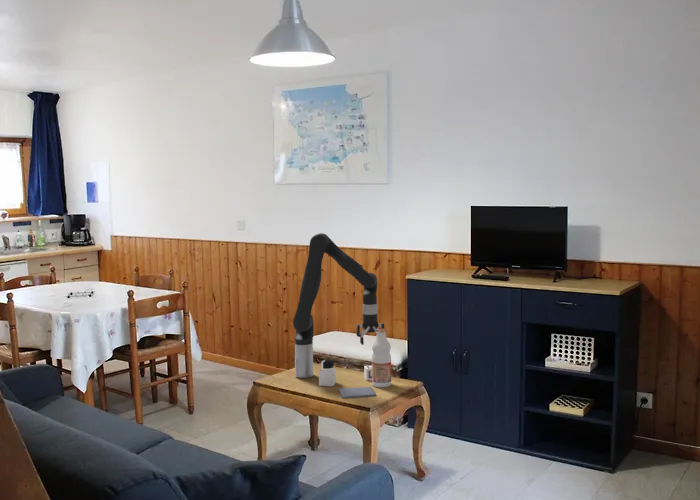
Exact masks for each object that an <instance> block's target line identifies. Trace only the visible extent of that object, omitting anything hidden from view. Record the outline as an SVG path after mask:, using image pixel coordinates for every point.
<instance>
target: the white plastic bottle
mask: <svg viewBox="0 0 700 500" xmlns="http://www.w3.org/2000/svg"><path fill="white" fill-rule="evenodd" d="M375 333H376V335H375V339H374V341H373V342H372V345H371V349H372V354H371V355H372V356H371V365H372V380H371V382H372V386H373V387H375V388H380V389H381V388H388V387H389V388H390V386H391V385H392V355H391V343H390V342H389V341H388V338H387V335H386V333H387V329H386V328H385V327H384V328H379V327H378V328H377V329H376V332H375Z"/></svg>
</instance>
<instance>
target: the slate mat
mask: <svg viewBox="0 0 700 500" xmlns="http://www.w3.org/2000/svg"><path fill="white" fill-rule="evenodd" d="M338 392H339V393H340V396H341V398H342V399H350V398H353V399H354V398H365V397H366V398H367V397H377V393H376V392H375V390H374V388H373V387H372V386H362V387H361V386H359V387H347V388H346V387H345V388H338Z"/></svg>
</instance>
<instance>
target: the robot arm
mask: <svg viewBox="0 0 700 500" xmlns="http://www.w3.org/2000/svg"><path fill="white" fill-rule="evenodd" d="M325 254H326V255H328V256H329V257H331V258H332V259H333V260H334V261H335V262H336V263H337V264H338V265H339V266H340V267H341V268H342V269H343V270H344V271H346V272H347V273H348V274H349V275H351V276H352V277H353V278H354V279H355V280H356V281H357V282H358V283H359V284H360V285H361V286H363V293H362V294H363V295H362V324H358V323H357V324H356V331H355V333H356V337H358V338H360V339H359V342H360V344H361V346H362V345H364V344H365V343H364V342H365V341H364V339H365V338H364V336H365V335H366V334H370V333H376V329H379V327H380V328H384V329H385V324H384V322H381V323H379V318H378V311H379V310H378V298H377V292H378V277H377V275H376V274H375V273H373V272H368V271H367V270H366V269H364V268H363V266H362V264H360V263H359V262H357V260H355V259H354V258H352V257H351V256H350V255H348V254H347V253H346V252H345V251H343V250H342V249H341V248H340V247H339V246H337V244H336V243H335V242H334V241H333V240H332V239H331V238H330V237H329V236H328V234H325V233H323V232H321V233H317V234H316V233H315V235H313V236H312V237H311V238H310V241H309V248H308V257H307V260H306V265H305V268H304V273H303V277H302V280H301V281H302V282H301V286H300V291H299V299H298V303H297V308H296V310H295V314H294V316H293V320H292V325H293V328H294V329H295V337H294V375H295V378H300V379H301V378H303V379H305V378H306V379H308V378H311V377H314V346H313V345H314V343H313V342H314V330H315V329H314V317H313V315H312V309H313V306H314V303H315V300H316V299H317V295H318V294H319V290H320V287H321V282H322V264H323V263H322V262H323V259H324V255H325ZM361 329H363V330H362V331H361V333H360V330H361Z"/></svg>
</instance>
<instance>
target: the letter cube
mask: <svg viewBox="0 0 700 500" xmlns="http://www.w3.org/2000/svg"><path fill="white" fill-rule="evenodd" d="M363 370H364V371H363V376H364V377H363V378H364V380H366V381H372V364H371V365H364V366H363Z"/></svg>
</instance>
